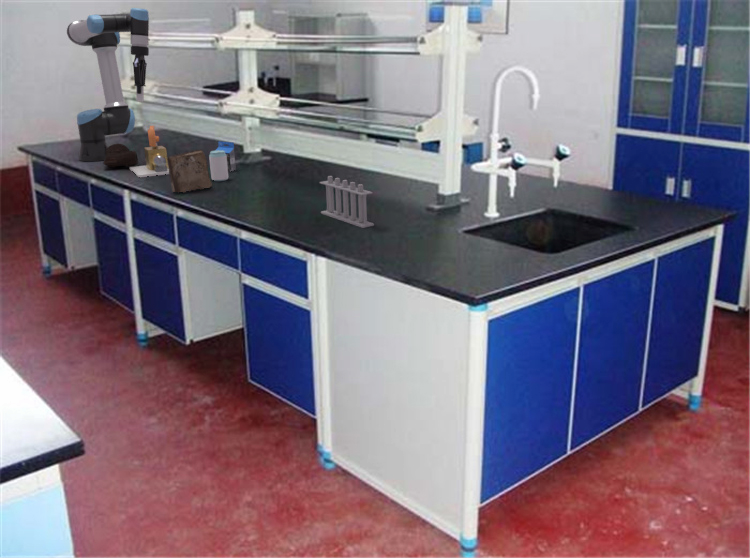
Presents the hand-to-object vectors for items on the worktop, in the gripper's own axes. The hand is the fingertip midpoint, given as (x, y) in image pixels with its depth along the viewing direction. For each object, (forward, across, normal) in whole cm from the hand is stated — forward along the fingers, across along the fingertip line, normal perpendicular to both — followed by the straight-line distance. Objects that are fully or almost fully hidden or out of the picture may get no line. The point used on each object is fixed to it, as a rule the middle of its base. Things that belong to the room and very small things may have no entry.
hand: (140, 101), depth 343 cm
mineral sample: (+31, -46, -34) cm, 65 cm away
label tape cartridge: (+27, -7, -40) cm, 49 cm away
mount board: (+30, -3, -9) cm, 31 cm away
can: (+29, -28, -41) cm, 58 cm away
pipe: (+30, +7, +10) cm, 33 cm away
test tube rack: (+29, -97, -97) cm, 140 cm away
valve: (+30, -3, -9) cm, 31 cm away
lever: (+17, -10, -9) cm, 22 cm away
